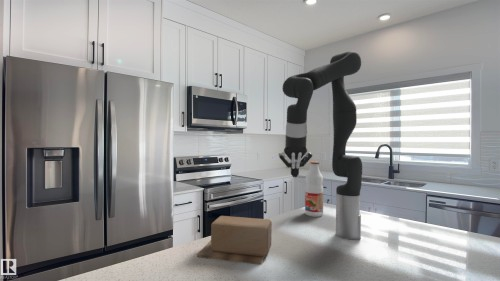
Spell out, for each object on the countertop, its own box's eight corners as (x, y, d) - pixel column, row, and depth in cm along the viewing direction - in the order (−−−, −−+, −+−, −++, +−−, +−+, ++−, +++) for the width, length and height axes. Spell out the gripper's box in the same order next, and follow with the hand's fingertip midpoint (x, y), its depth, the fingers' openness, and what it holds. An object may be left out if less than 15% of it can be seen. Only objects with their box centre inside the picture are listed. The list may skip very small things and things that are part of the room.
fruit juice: (326, 216, 135) (326, 162, 135) (309, 217, 133) (309, 162, 133) (318, 211, 144) (318, 160, 144) (302, 212, 142) (302, 161, 142)
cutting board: (268, 244, 98) (268, 242, 98) (261, 264, 83) (261, 261, 83) (213, 239, 103) (213, 237, 103) (196, 256, 88) (196, 254, 88)
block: (267, 227, 85) (210, 223, 90) (267, 258, 85) (210, 252, 90) (272, 218, 95) (219, 214, 99) (271, 246, 95) (219, 241, 99)
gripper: (311, 129, 99) (308, 171, 105) (276, 131, 98) (275, 172, 104) (317, 135, 92) (314, 179, 97) (279, 137, 91) (279, 181, 97)
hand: (294, 176), depth 101 cm, fingers closed
